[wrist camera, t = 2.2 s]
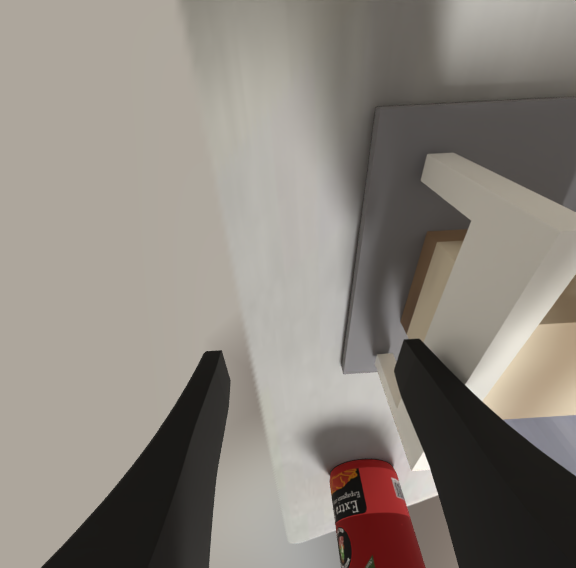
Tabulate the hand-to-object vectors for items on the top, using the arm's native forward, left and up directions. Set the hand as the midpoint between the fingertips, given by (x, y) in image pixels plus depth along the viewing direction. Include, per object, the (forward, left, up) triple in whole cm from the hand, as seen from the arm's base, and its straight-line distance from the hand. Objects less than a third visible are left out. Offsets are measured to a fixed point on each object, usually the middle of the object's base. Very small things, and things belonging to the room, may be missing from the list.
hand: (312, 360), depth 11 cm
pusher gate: (-5, 0, -5) cm, 7 cm away
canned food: (-7, +29, -5) cm, 30 cm away
